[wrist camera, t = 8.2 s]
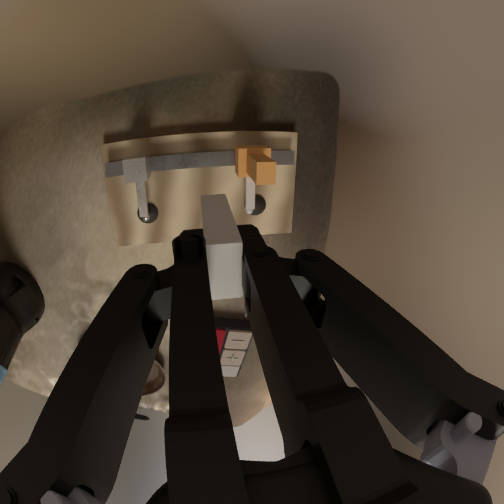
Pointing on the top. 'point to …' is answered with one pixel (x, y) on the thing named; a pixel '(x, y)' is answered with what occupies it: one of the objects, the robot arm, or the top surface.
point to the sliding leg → (254, 170)
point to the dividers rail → (176, 167)
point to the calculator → (232, 343)
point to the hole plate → (196, 187)
